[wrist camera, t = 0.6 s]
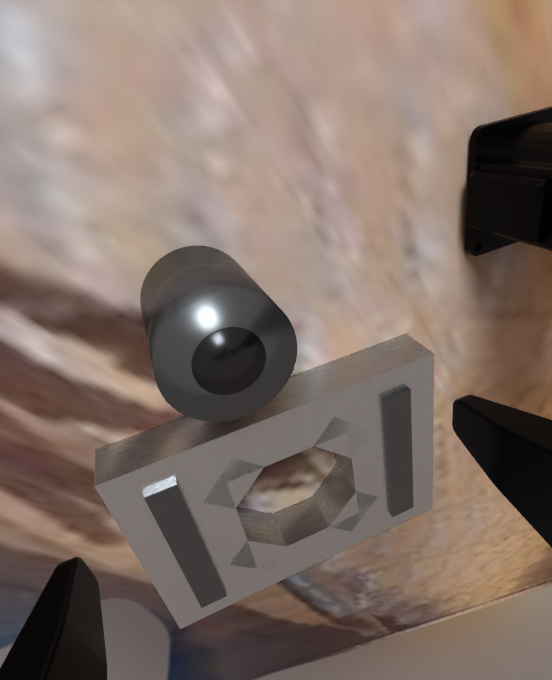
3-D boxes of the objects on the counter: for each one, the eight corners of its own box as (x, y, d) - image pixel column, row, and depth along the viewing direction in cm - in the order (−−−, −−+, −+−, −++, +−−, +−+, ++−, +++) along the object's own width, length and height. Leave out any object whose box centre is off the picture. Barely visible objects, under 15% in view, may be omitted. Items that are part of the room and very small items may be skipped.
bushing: (235, 232, 19) (284, 273, 14) (258, 328, 21) (307, 393, 16) (123, 264, 18) (131, 322, 13) (161, 361, 20) (180, 442, 15)
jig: (406, 333, 25) (437, 356, 22) (410, 482, 31) (435, 511, 29) (95, 450, 21) (94, 491, 19) (174, 590, 28) (181, 634, 25)
